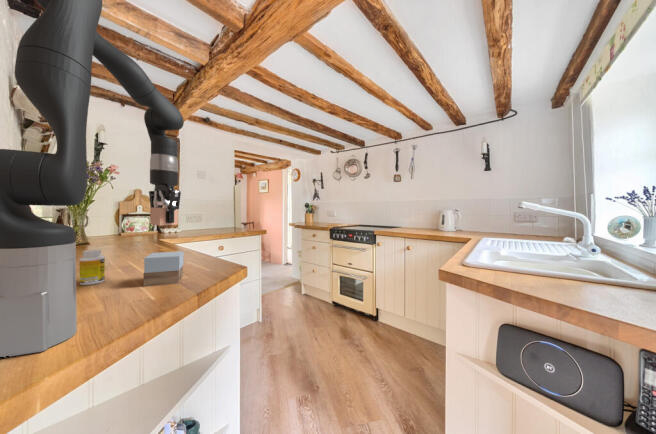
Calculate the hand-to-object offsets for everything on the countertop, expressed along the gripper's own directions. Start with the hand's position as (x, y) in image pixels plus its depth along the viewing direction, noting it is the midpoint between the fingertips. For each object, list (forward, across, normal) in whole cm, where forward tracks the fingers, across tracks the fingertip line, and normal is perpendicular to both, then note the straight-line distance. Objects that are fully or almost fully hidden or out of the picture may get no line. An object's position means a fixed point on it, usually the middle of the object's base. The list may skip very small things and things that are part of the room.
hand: (164, 222), depth 75 cm
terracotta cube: (+1, 0, 0) cm, 1 cm away
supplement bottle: (+20, +16, +12) cm, 28 cm away
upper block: (+15, 0, 0) cm, 15 cm away
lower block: (+20, 0, 0) cm, 20 cm away
